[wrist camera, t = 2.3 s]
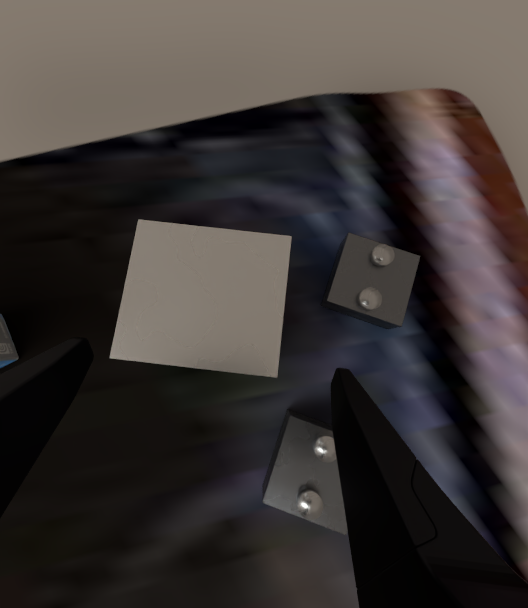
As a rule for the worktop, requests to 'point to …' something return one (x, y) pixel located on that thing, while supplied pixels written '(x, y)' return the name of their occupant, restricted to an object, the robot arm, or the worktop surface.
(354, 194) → the worktop surface
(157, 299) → the pale grey rectangular block
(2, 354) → the label tape box
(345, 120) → the worktop surface
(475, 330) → the worktop surface
